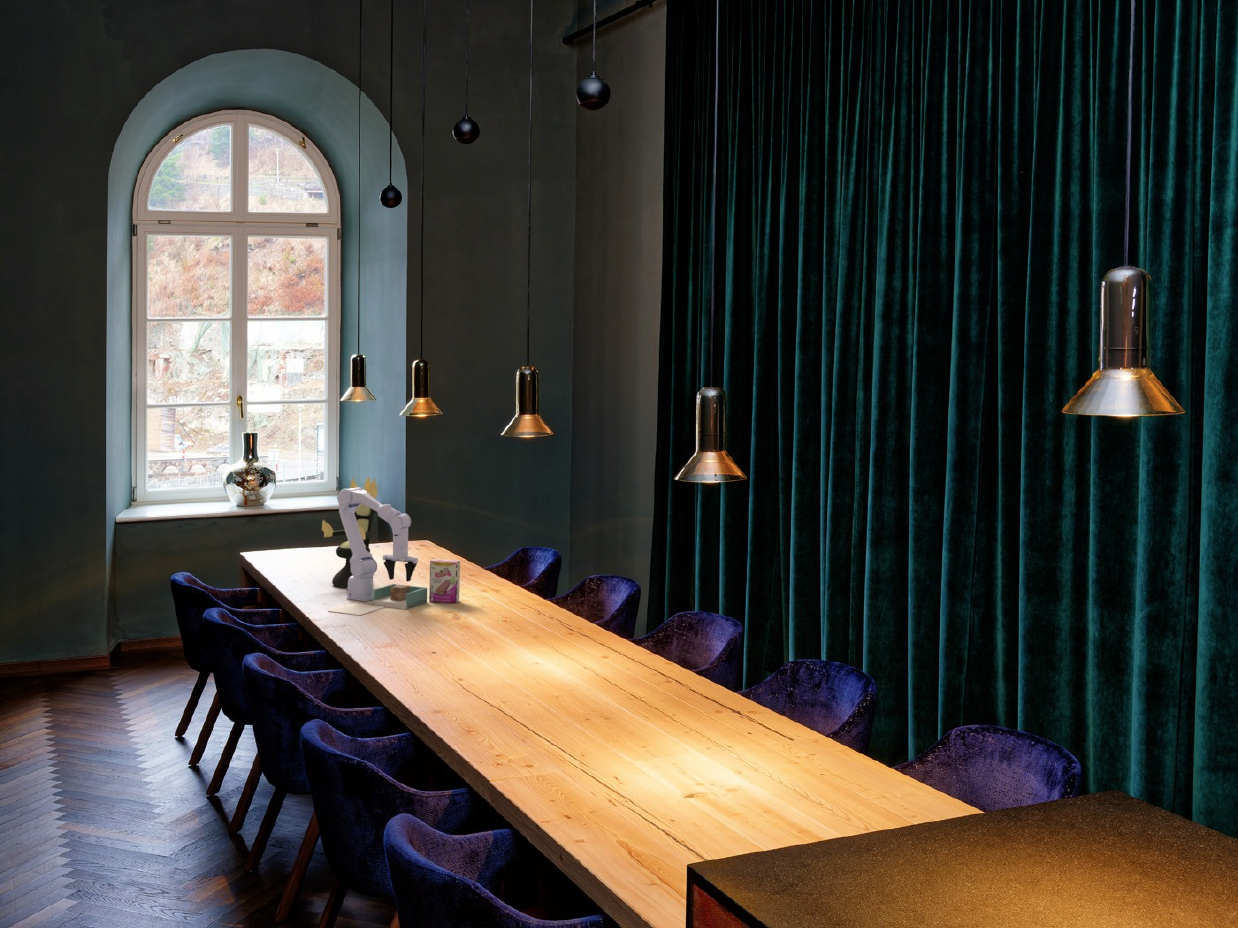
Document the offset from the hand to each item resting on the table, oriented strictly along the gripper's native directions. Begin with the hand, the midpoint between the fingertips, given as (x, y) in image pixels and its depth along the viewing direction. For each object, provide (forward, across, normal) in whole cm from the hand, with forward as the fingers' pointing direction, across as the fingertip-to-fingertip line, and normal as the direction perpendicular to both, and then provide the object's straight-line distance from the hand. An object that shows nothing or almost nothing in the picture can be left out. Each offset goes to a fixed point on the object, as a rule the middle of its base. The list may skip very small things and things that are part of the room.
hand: (400, 580), depth 460 cm
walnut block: (+7, 0, 0) cm, 7 cm away
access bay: (+9, 0, 0) cm, 9 cm away
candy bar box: (+10, +12, +12) cm, 20 cm away
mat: (+9, -9, -16) cm, 21 cm away
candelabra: (+10, -38, +25) cm, 46 cm away
